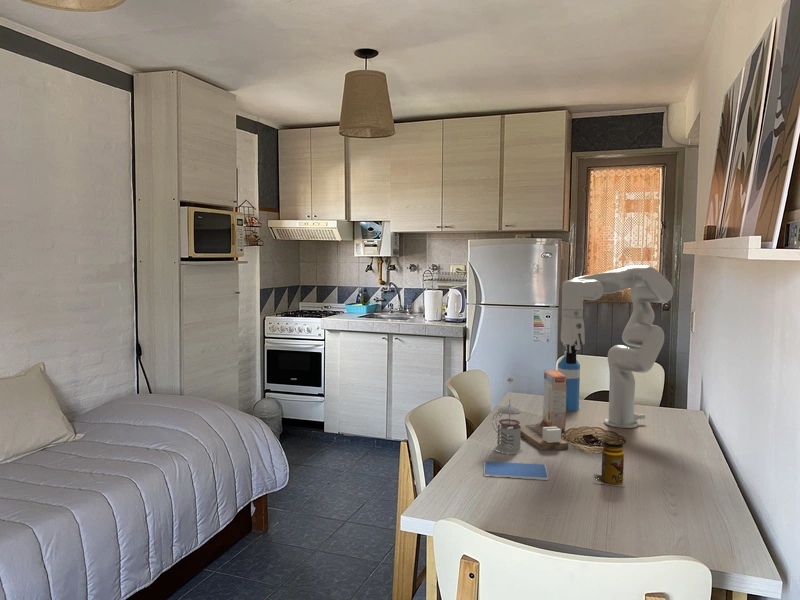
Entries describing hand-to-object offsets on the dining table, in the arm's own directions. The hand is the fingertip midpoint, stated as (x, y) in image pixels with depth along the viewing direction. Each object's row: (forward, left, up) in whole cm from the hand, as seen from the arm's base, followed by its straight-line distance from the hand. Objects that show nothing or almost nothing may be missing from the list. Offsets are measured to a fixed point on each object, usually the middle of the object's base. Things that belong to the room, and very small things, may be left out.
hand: (571, 363), depth 219 cm
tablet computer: (+35, +31, -28) cm, 54 cm away
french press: (+29, +10, -27) cm, 41 cm away
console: (+13, +2, -27) cm, 30 cm away
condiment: (+11, +44, -27) cm, 53 cm away
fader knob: (+13, +12, -25) cm, 30 cm away
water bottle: (-20, -38, -27) cm, 51 cm away
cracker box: (-1, -14, -27) cm, 31 cm away
